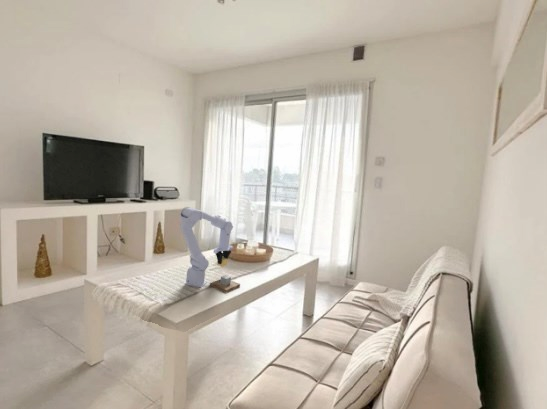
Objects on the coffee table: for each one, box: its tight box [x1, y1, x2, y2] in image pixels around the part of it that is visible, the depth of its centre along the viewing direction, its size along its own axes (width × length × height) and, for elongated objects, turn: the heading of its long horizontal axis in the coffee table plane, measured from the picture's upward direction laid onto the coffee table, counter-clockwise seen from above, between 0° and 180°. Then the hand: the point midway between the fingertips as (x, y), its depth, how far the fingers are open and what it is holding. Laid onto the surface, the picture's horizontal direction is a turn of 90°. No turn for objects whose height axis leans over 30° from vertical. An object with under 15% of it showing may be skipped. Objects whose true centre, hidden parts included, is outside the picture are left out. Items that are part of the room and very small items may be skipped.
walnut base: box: [209, 278, 241, 293], centre depth 170 cm, size 12×12×2 cm
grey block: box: [220, 274, 232, 286], centre depth 170 cm, size 4×4×4 cm
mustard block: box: [216, 258, 228, 268], centre depth 180 cm, size 4×4×4 cm
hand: (222, 262), depth 180 cm, fingers closed on mustard block, 4 cm apart
